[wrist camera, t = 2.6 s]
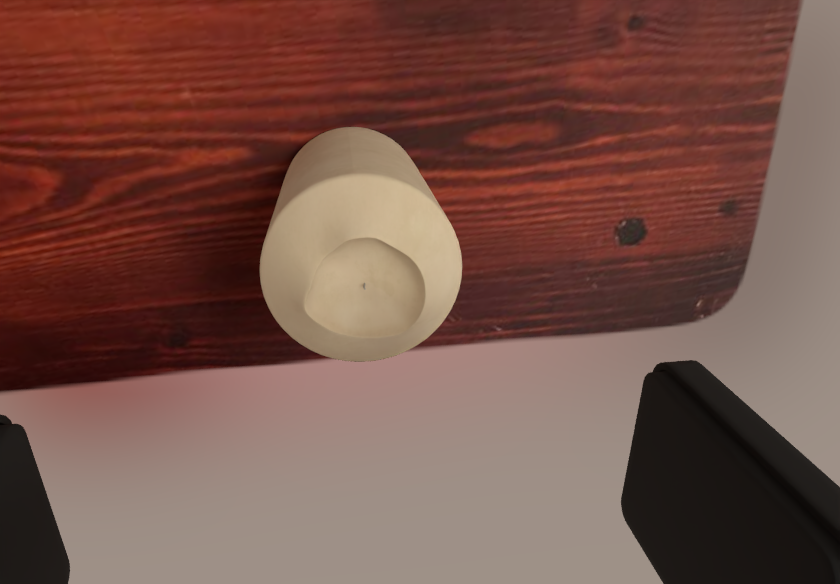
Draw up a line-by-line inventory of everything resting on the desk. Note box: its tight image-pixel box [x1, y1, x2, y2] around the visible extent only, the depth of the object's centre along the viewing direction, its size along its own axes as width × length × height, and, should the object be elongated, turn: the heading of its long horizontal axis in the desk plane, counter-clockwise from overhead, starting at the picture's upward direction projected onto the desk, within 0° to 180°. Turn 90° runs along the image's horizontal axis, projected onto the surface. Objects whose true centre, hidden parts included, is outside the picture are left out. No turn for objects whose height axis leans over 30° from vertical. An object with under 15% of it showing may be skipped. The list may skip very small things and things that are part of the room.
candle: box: [260, 127, 462, 362], centre depth 19 cm, size 6×6×10 cm
